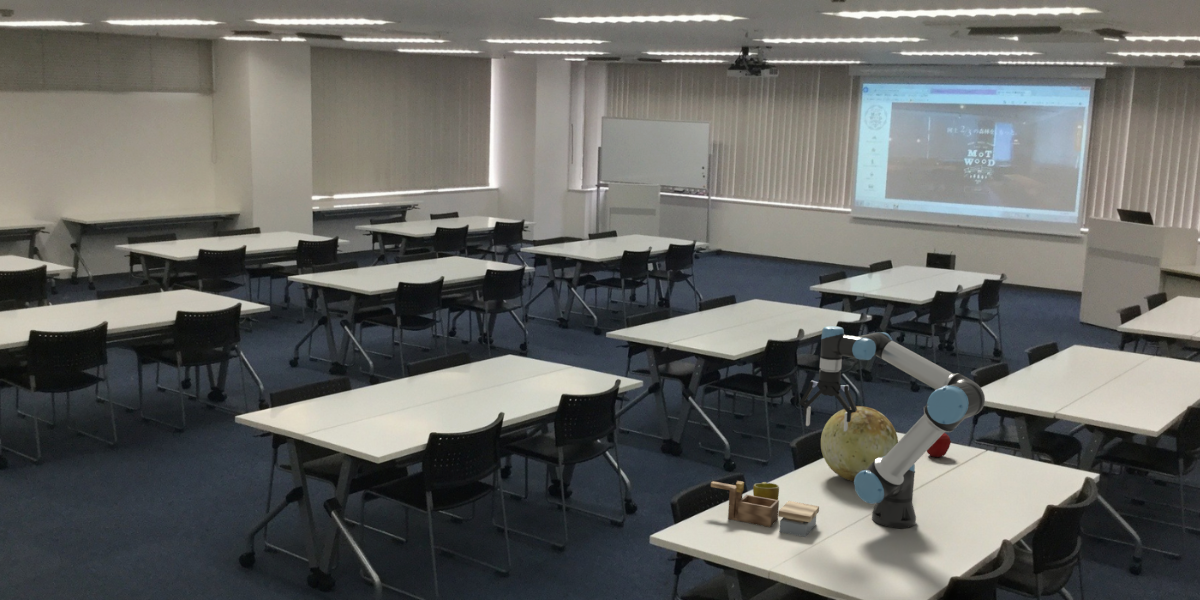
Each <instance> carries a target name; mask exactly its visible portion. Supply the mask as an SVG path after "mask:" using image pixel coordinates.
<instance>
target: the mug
mask: <svg viewBox="0 0 1200 600" xmlns="http://www.w3.org/2000/svg"><path fill="white" fill-rule="evenodd" d="M752 488H753V489H752V493H753V495H752V496H757V497H763V498H768V499H774V500H779V496H780V495H779V493H780V486H779V485H778V484H776V483H774V482H773V483H771V482H766V481H763V482H761V483H754V484H753V487H752Z"/></svg>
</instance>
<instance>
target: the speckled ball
mask: <svg viewBox="0 0 1200 600" xmlns="http://www.w3.org/2000/svg"><path fill="white" fill-rule="evenodd" d="M849 407H850V406H849ZM850 408H851V407H850ZM856 408H857V411H856V412H853V413H851V421H850V422H848V428H847V431H844V417H845V413H846V410H845V409H844V408H843V409H841V410H838V411H837V412H836V413H834V414H833V415H832V416H830V418H829V419H828V420H827V421H826V423H825V424H824V427H823V430H822V432H821V436H820V437H821V438H820V449H821V453H822V457H823V459H824V461H825V463H826V465H827V466H828V468H829V469H830V470H832V471H833V473H835V474H836V475H837V476H839V477H841V478H843V479H844V480H847V481H849V482H854V479H855V477H856V475H857V474H858V473H859V472H860V471H862V470H866V469H867V468H868V467H869V466H870V465H871V464H872V463H873V462H874V461H875V460H876V459H877V458H878V457H883V456H886V455H887V453H888V452H889V451H890V450H891V449H892V448H893V447H894V446H895V445H896V444H897V443H898V442H899V438H898V435H897V431H896V429H895V427H894V425H893V424H892V422H891V421H890V420H889V419H888V418H887V416H885V414H883V413H882V412H880V411H878V410H877V409H874V408H872V407H868V406H863V405H856Z"/></svg>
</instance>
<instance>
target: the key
mask: <svg viewBox="0 0 1200 600" xmlns="http://www.w3.org/2000/svg"><path fill="white" fill-rule="evenodd" d="M737 481H738V482H737ZM737 481H736V482H737V483H736V482H735V484H729V483H725V482H724V483H723V482H719V481H713V480H712V481H711V483H710V487H711V488H716V489H722V490H726V491H730V487H731V486H733V487H737V492H740V493H741V492H742V491H744V489H745V488H744V487H745V482H744V481H741V480H737ZM740 481H741V482H740Z"/></svg>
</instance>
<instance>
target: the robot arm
mask: <svg viewBox="0 0 1200 600" xmlns="http://www.w3.org/2000/svg"><path fill="white" fill-rule="evenodd" d="M844 331H845V330H844V328H843V327H841V326H837V325H836V326H835V325H827V326H824V327H823V328H822V332H821V338H820V340H821V341H820V342H821V343H820V359H819V373H818V381H815V380H813V379H812V380H811V381H809V383H808V388H807V389H806V391H805V393H804V394H803V396H802V398H801V399H800V401H799V403H798V404H799V405H800V406H803V416H804V417H805V426H806V427H809V426H810V425H811V412H812V411H811V410H812V408H811V406H810V405H811V404H812V403H813V402H814V401H815V400H816V399H817V398H818V397H820V395H823V396H829V397H835V398H836V399H837V401H838V402H839V403H840V405H841V407H843V409H845V410H846V413H845V417H844V431H847V428H848V422H850V421H851V413H853V412H856V411H857V408H856V406H857V405H856V403H855V401H854V399H853V396H852V394H851V391H850V385H849V384H846V385H843V384H841V377H842V376H841V375H842V371H841V370H842V363H843V362H842V360H843V357H848V358H851V359H858V360H860V361H861V360H862V361H864V360H865V361H869V360H872V358H873V357H874V356H876V357H877V358H880V359H881V360H883V361H885V362H887V363H888V364H890V365H892V366H893V367H895V368H897V369H899V370H900V371H902V372H905V374H907V375H910V376H911V377H913V378H915V379H917V380H918V381H920V382H922V383H924V384H925V385H927V386H928V387H931V388H932V389H934V391H933V392H932V393H931V394H930V395H929V397H928V399H927V403H926V405H925V406H923V415H922V416H921V417H920V418H919V419H918V420H917V421H916V423H914V424H913V425H912V427H911V428H910V429H909V430H908V431H907V432H906V433H905V434H904V435H903V436H902V437H901V438H900V439H899V440H898V443H897V444H896V445H895V446H894V447H893V448H892V449H891V450H890V451H889V452H888V453H887V455H886V456H883V457H878V458H877V459H876V460H875V461H874V462H873V463H872V464H871V465H870V466H869V467H868V468H867V469H866V470H862V471H860V472H859V473H858V474H857V475H856V477H855V479H854V481H853V485H854V490H855V493H856V494H857V496H858V498H859V499H861V500H862V501H863V502H865V503H867V504H872V505H873V504H874V507H873V508H872V509H873V510H872V514H871V519H872V521H873V522H874V523H877V524H878V525H881V526H884V527H889V528H894V529H906V528H907V529H909V528H912V527H914V526H916V524H917V516H916V513H915V507H914V504H913V495H914V484H915V473H916V471H915V469H916V468H915V467H916V466H915V465H916V463H917V462H918V460H919V459H920V458H921V457H923V455H924V454H925V453H927V450H928V449H929V448H930V447H931V446H932V445H933V444H934V443H935V442H936V441H937V440H938V438H939V437H940V436H941V435H942V434H943V433H951V432H952V433H953V431H955V429H956V428H957V427H958V426H959V425H960V424H961V423H962V422H963V421H964V420H965V419H968V418H970V417H975V416H977V414H979V413H980V412H981V411H982V410H983V408H984V406H985V402H986V397H985V393H984V390H983V389H982V387H981V386H980V385H979V384H978V383H977V382H975V381H974V380H972V379H970V378H968V377H966V376H965V375H963V374H961V373H958V372H957V373H953V372H952V371H949V370H947V369H946V368H944V367H942V366H940V365H939V364H936V363H934V362H932V361H931V360H929V359H927V358H926V357H924V356H921V355H919V354H918V353H916V352H914V351H912V350H910V349H908V348H906V347H905V346H903V345H901V344H899V343H898V342H896V341H894V340H893V338H892V337H891V336H890V334H888V333H887V332H880V331H879V332H878V331H876V332H873V333H868V334H863V335H858V336H855V335H849V334H845V332H844ZM815 387H817V388H818V391H816V393H815V394H814V395H813V396H812V397H811V398H810V399H809V400H808V401H806V400H807V399H808V397H809V396H810V394H811V392H812V391H813V389H814V388H815ZM840 390H842V391H843V392H844V394H845V397H846V399H847V402H848V403H847V402H846V400H845V399H844V397H843V395H842V393H841V392H840ZM850 407H851V408H850Z"/></svg>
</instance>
